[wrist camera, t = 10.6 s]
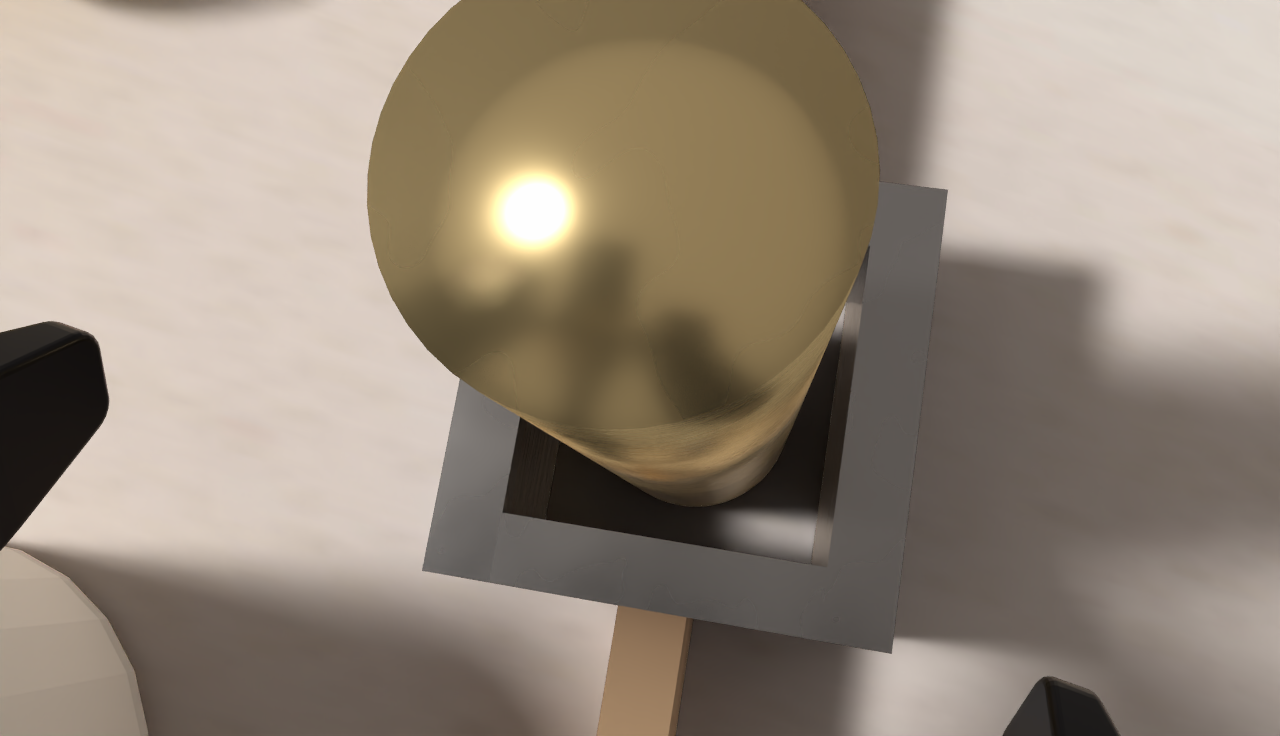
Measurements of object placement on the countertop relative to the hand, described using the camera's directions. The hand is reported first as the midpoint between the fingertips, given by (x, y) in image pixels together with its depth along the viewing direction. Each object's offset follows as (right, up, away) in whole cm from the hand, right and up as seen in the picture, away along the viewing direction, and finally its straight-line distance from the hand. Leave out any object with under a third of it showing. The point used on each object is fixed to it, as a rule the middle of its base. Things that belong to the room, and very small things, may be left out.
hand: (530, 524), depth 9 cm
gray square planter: (+2, +1, +13) cm, 13 cm away
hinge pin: (+2, 0, +13) cm, 13 cm away
